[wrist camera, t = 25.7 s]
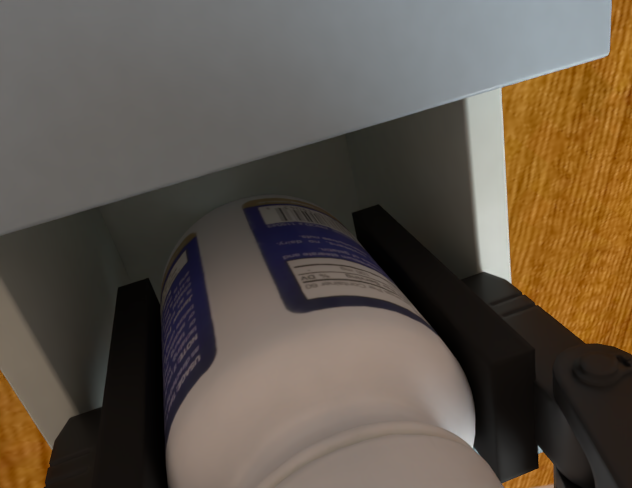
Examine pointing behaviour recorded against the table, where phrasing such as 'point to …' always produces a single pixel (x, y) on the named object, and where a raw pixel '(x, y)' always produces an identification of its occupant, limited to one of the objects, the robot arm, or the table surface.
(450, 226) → the drawer
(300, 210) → the pill bottle
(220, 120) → the cabinet
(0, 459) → the table surface
